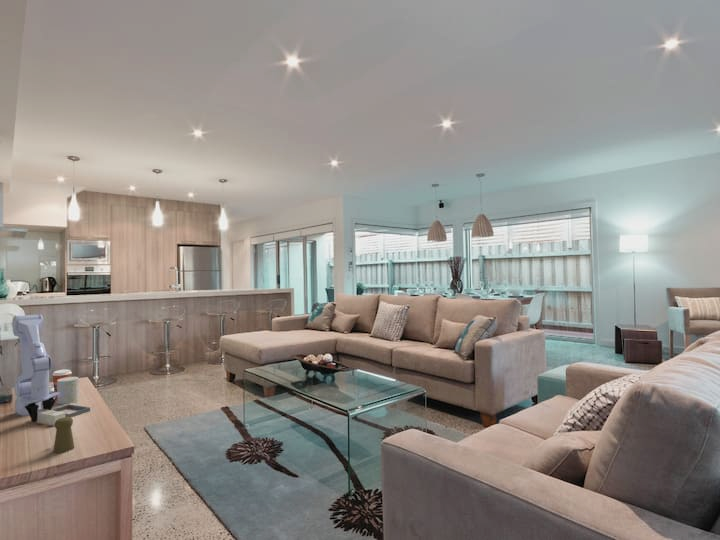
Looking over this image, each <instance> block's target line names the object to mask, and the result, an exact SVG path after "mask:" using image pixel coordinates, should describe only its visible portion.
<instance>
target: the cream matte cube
mask: <svg viewBox="0 0 720 540" xmlns="http://www.w3.org/2000/svg"><path fill="white" fill-rule="evenodd" d="M46 411H49V410H48V409H43V408H41V409H39V410H38V411H37V421H36V422H37V423H39V422H40V413H42V412H46Z"/></svg>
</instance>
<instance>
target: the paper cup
mask: <svg viewBox="0 0 720 540" xmlns="http://www.w3.org/2000/svg"><path fill="white" fill-rule="evenodd" d="M72 373H73V372H72V370H71V369H59V370H55V371H53V373H52V374H51V375H52V379H53V380H52V381H53V393H55V392H57V380H58V379H61V378H66V377H72ZM54 399H56V402H57V397H56V398H54Z"/></svg>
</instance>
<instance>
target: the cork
mask: <svg viewBox="0 0 720 540" xmlns="http://www.w3.org/2000/svg"><path fill="white" fill-rule="evenodd" d="M73 420H74V419H73V417H64V418H60V419H58V420H56V422H55V426H54V428H55V429H56V432H55V437H54V443H53V444H54V445H53V450H52V451H53V454H62V453H63V454H64V453H66V451H67V452H69V450H70V451H72V450H74V448H75V443H74V436H73V431H72V425H73V424H74V421H73Z"/></svg>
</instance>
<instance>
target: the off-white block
mask: <svg viewBox="0 0 720 540" xmlns="http://www.w3.org/2000/svg"><path fill="white" fill-rule="evenodd" d="M65 413H66V412H65V411H64V412H63V411H58V412H55V413H52V414H49V415H48V425H53V426H54V427H55V422H56V420H58V419H60V418H64V417H65Z"/></svg>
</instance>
